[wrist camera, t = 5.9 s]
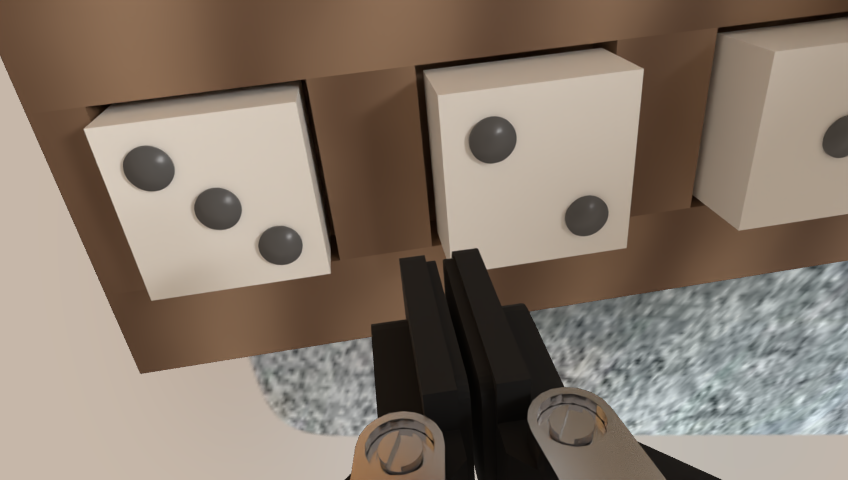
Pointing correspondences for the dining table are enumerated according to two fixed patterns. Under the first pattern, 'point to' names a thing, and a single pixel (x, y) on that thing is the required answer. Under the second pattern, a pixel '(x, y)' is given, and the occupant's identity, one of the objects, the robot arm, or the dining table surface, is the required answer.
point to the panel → (386, 146)
